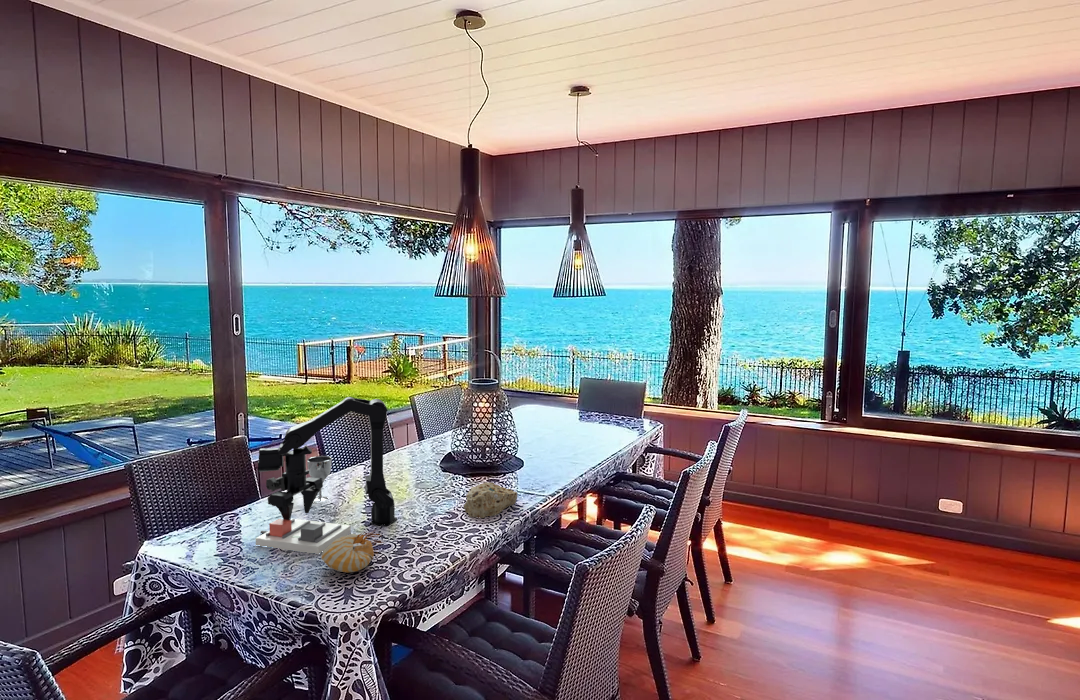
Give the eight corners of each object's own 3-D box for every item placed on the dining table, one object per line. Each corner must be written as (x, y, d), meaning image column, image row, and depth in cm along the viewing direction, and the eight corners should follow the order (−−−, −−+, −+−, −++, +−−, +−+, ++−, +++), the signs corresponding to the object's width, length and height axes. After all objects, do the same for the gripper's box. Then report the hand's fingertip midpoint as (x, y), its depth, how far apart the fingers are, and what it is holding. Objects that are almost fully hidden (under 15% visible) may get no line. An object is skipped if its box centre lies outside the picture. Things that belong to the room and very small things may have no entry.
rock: (483, 499, 217) (490, 473, 216) (517, 515, 211) (525, 488, 210) (453, 511, 198) (460, 483, 197) (489, 529, 192) (497, 500, 191)
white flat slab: (350, 533, 182) (350, 523, 182) (318, 554, 167) (318, 543, 167) (278, 524, 189) (278, 514, 189) (241, 544, 174) (241, 533, 174)
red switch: (291, 531, 177) (291, 520, 176) (282, 536, 173) (282, 525, 173) (279, 530, 178) (278, 518, 178) (269, 535, 174) (269, 523, 174)
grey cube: (322, 536, 173) (322, 524, 173) (314, 542, 170) (313, 530, 169) (309, 534, 174) (309, 523, 174) (300, 540, 171) (300, 528, 170)
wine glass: (307, 504, 207) (306, 462, 205) (309, 497, 214) (308, 456, 213) (331, 502, 209) (330, 461, 207) (333, 495, 216) (332, 455, 215)
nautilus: (367, 545, 175) (405, 560, 167) (306, 569, 156) (345, 587, 149) (369, 519, 174) (407, 532, 167) (308, 540, 156) (347, 556, 148)
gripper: (293, 458, 192) (294, 505, 194) (251, 475, 174) (253, 526, 176) (323, 461, 189) (324, 508, 191) (283, 478, 171) (285, 530, 173)
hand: (297, 518), depth 182 cm, fingers open, 9 cm apart
